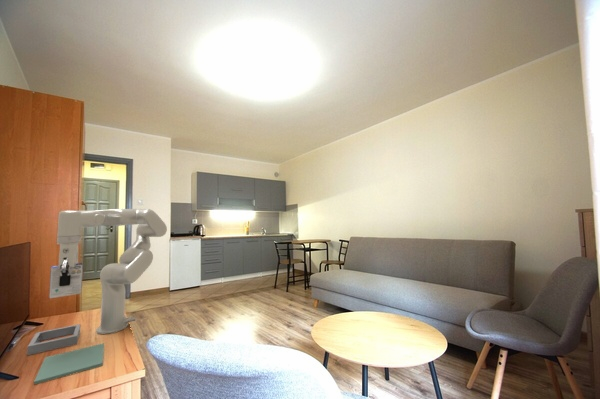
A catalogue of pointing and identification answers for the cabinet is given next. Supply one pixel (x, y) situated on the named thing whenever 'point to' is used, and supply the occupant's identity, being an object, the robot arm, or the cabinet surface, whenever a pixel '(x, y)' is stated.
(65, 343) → the pocket holder
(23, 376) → the cabinet surface
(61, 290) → the ink cartridge box
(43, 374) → the place mat
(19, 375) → the cabinet surface
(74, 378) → the cabinet surface
